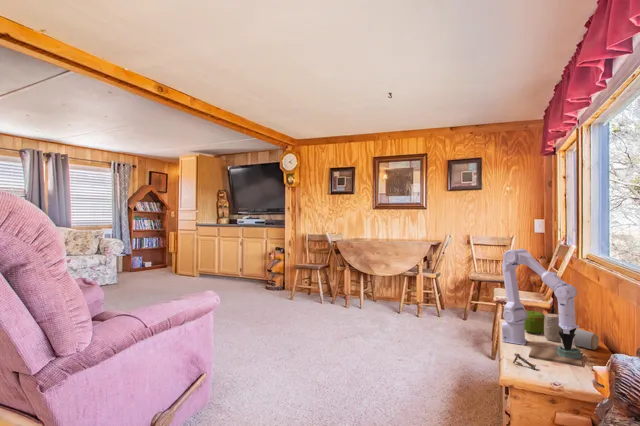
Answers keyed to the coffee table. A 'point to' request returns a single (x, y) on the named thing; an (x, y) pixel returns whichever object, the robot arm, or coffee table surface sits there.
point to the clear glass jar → (571, 348)
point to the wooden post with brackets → (523, 361)
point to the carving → (552, 327)
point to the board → (557, 355)
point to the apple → (534, 322)
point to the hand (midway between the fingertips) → (568, 346)
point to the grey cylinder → (586, 339)
